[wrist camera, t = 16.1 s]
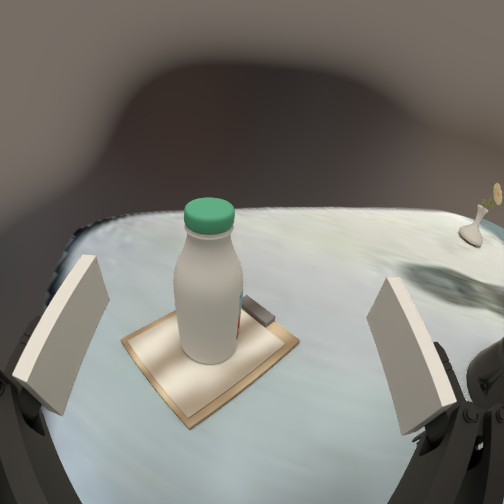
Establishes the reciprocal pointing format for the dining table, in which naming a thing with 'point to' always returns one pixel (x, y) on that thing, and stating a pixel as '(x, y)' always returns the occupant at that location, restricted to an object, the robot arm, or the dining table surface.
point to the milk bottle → (208, 283)
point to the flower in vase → (472, 231)
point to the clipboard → (207, 375)
